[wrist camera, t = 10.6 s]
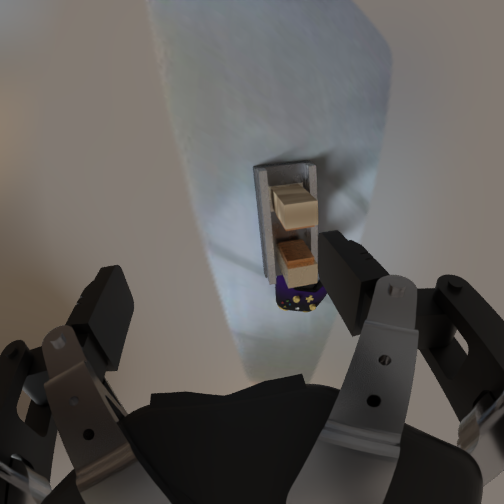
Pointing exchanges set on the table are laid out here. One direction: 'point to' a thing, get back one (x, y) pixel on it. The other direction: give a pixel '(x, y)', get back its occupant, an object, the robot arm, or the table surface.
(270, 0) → the table surface
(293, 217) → the beech finger
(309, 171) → the grey block holder
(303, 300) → the gaming controller
